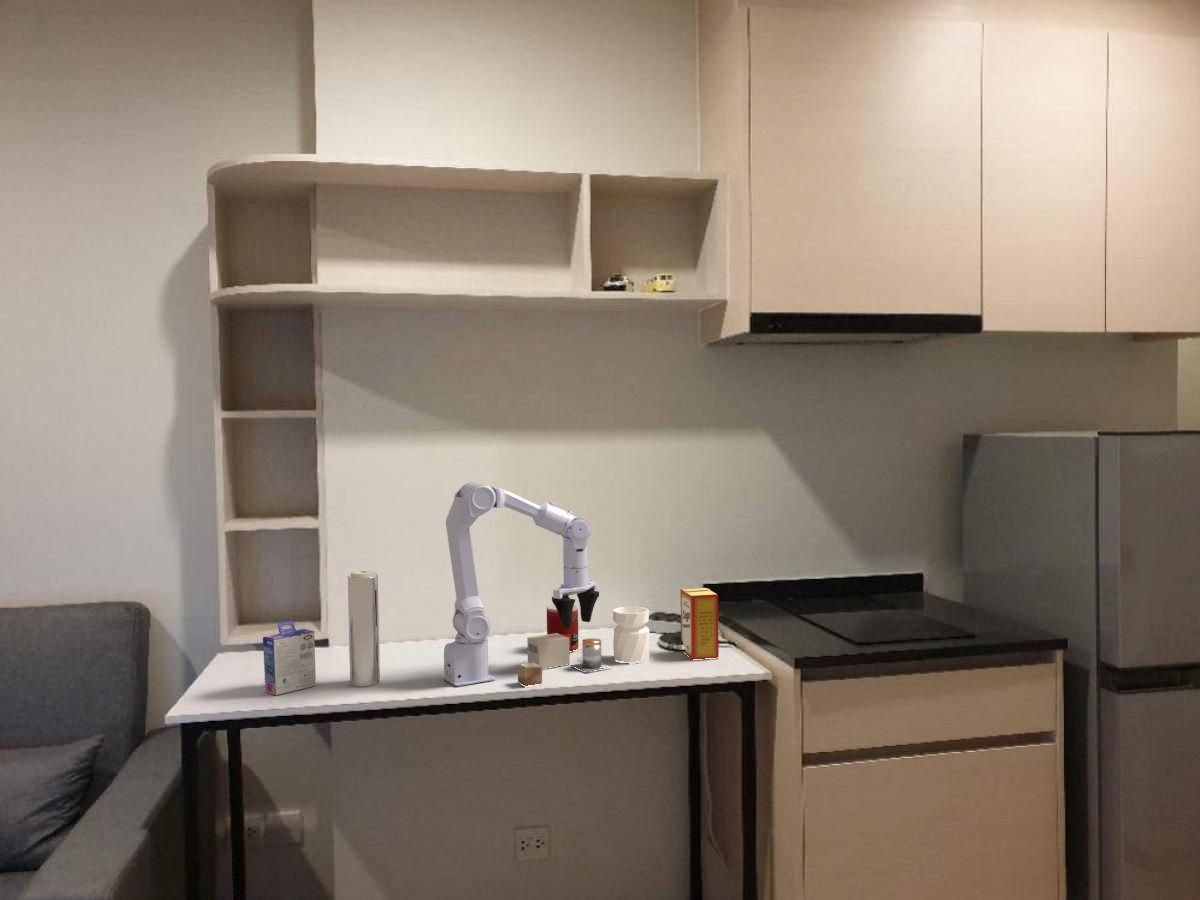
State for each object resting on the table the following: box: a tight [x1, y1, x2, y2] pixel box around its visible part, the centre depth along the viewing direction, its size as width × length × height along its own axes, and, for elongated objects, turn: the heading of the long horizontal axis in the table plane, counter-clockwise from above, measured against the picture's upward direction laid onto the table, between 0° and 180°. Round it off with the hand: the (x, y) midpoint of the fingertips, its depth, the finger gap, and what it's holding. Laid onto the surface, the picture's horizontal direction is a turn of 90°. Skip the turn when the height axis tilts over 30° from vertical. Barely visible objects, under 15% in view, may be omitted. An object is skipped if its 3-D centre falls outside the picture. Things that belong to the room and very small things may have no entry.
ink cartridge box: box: [262, 620, 317, 696], centre depth 195 cm, size 10×6×14 cm, turn 138°
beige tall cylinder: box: [347, 569, 381, 688], centre depth 198 cm, size 6×6×25 cm
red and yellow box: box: [679, 587, 720, 661], centre depth 218 cm, size 10×6×16 cm
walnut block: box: [517, 662, 543, 686], centre depth 196 cm, size 4×4×4 cm
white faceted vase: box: [612, 606, 651, 662], centre depth 215 cm, size 9×9×12 cm
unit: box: [526, 633, 570, 670], centre depth 211 cm, size 8×6×6 cm
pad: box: [570, 662, 607, 672], centre depth 208 cm, size 7×7×1 cm
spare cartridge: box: [581, 637, 602, 668], centre depth 208 cm, size 4×4×6 cm
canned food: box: [546, 604, 579, 651], centre depth 226 cm, size 8×8×11 cm
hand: (576, 624), depth 210 cm, fingers open, 7 cm apart
